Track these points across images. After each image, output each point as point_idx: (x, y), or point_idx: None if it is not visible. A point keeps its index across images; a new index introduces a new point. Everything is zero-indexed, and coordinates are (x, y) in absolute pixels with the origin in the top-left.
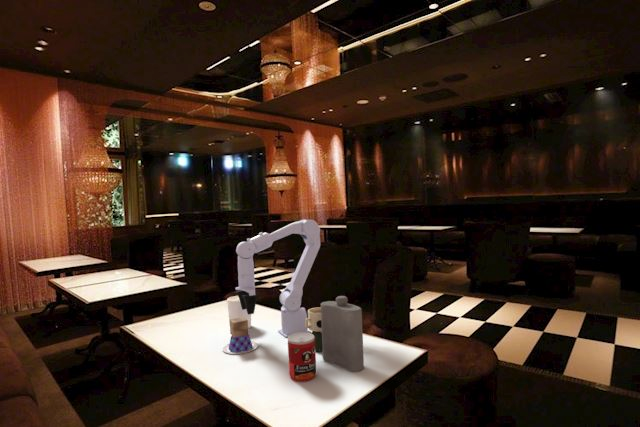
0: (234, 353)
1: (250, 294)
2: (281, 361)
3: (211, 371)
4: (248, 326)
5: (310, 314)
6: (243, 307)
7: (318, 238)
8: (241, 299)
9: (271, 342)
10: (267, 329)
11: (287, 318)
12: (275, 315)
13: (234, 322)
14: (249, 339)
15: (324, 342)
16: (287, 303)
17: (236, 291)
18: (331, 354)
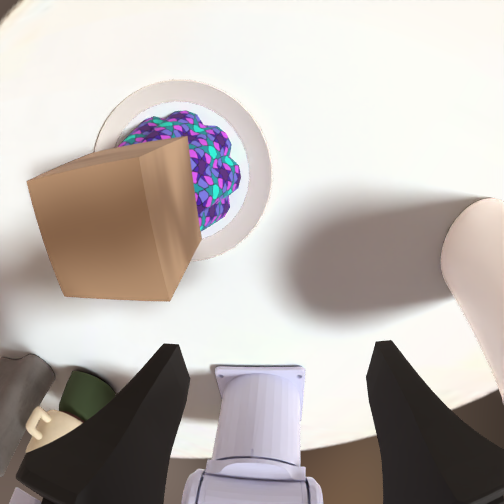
0: (111, 136)
1: (15, 498)
2: (26, 280)
3: (9, 59)
4: (445, 281)
5: (31, 446)
6: (378, 363)
7: None
8: (409, 428)
9: (187, 312)
10: (366, 340)
11: (221, 435)
12: (476, 379)
13: (33, 193)
14: None
15: (8, 383)
16: (183, 497)
17: (494, 494)
18: (15, 369)
